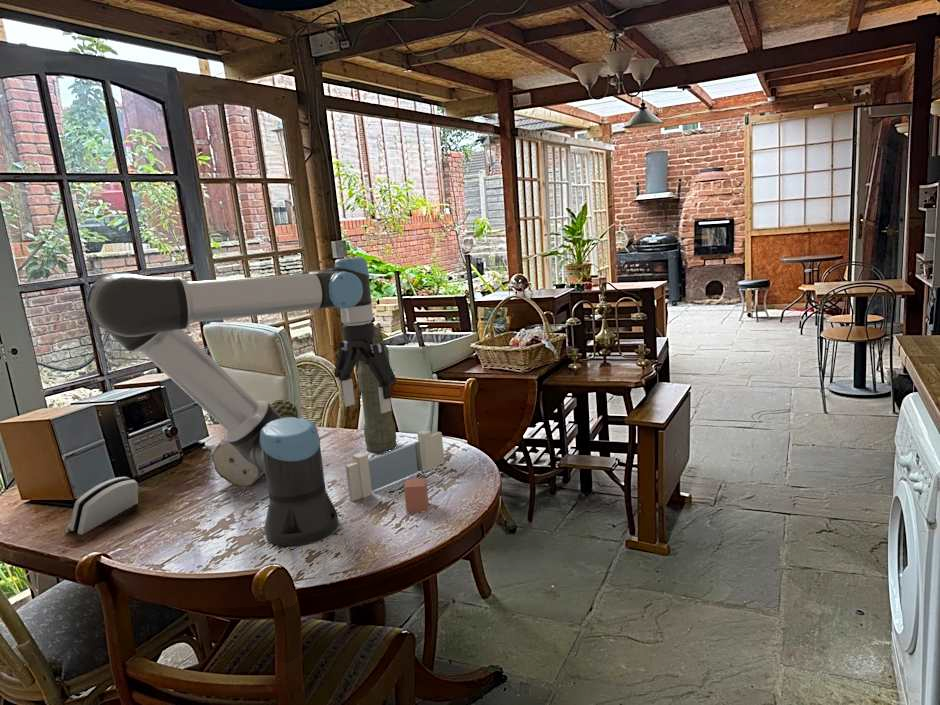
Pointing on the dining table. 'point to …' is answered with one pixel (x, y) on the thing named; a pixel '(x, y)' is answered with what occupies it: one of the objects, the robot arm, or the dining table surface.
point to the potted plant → (232, 461)
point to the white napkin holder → (103, 503)
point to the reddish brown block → (416, 495)
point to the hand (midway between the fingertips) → (367, 408)
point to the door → (395, 465)
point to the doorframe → (360, 467)
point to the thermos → (375, 407)
